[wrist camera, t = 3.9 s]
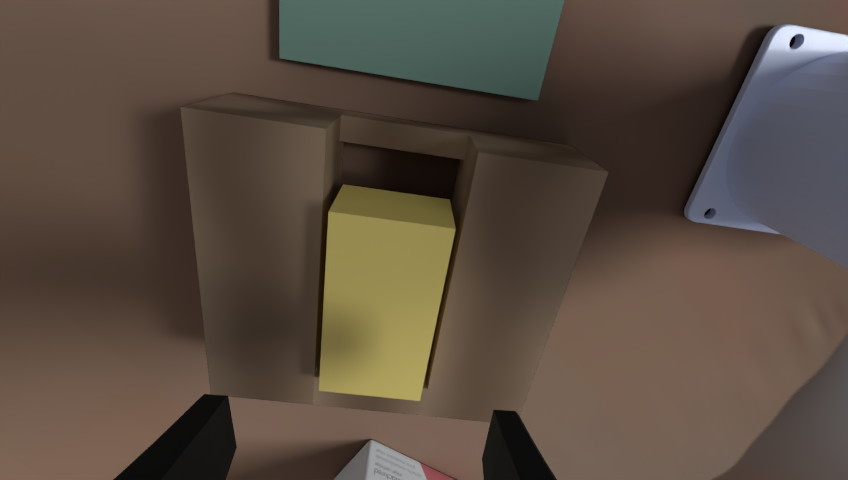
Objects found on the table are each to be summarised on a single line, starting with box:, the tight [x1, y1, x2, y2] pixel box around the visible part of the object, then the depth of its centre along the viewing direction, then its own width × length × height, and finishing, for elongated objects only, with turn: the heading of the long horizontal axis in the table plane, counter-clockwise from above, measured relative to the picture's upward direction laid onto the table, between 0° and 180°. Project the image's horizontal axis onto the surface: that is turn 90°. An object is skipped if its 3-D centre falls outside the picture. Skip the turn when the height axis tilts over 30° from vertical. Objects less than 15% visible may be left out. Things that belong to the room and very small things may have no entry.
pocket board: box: [180, 93, 609, 422], centre depth 18 cm, size 14×12×4 cm
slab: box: [319, 184, 456, 401], centre depth 16 cm, size 4×8×3 cm, turn 171°
